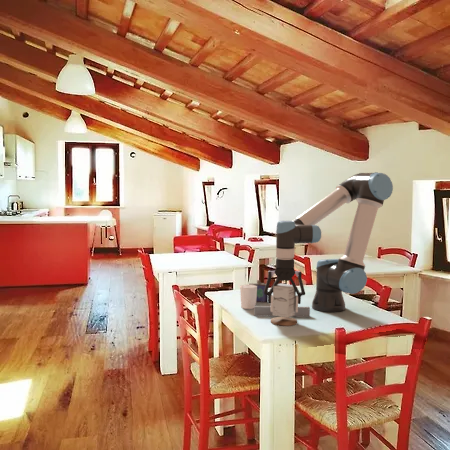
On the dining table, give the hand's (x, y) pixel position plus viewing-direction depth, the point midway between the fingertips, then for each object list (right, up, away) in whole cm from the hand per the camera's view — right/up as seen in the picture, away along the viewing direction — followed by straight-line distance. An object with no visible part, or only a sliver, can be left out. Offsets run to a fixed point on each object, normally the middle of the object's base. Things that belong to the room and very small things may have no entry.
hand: (284, 311), depth 208 cm
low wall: (0, -4, +11) cm, 11 cm away
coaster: (0, -5, 0) cm, 5 cm away
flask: (-8, -2, +36) cm, 37 cm away
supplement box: (0, -2, 0) cm, 2 cm away
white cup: (-14, -3, +25) cm, 29 cm away
